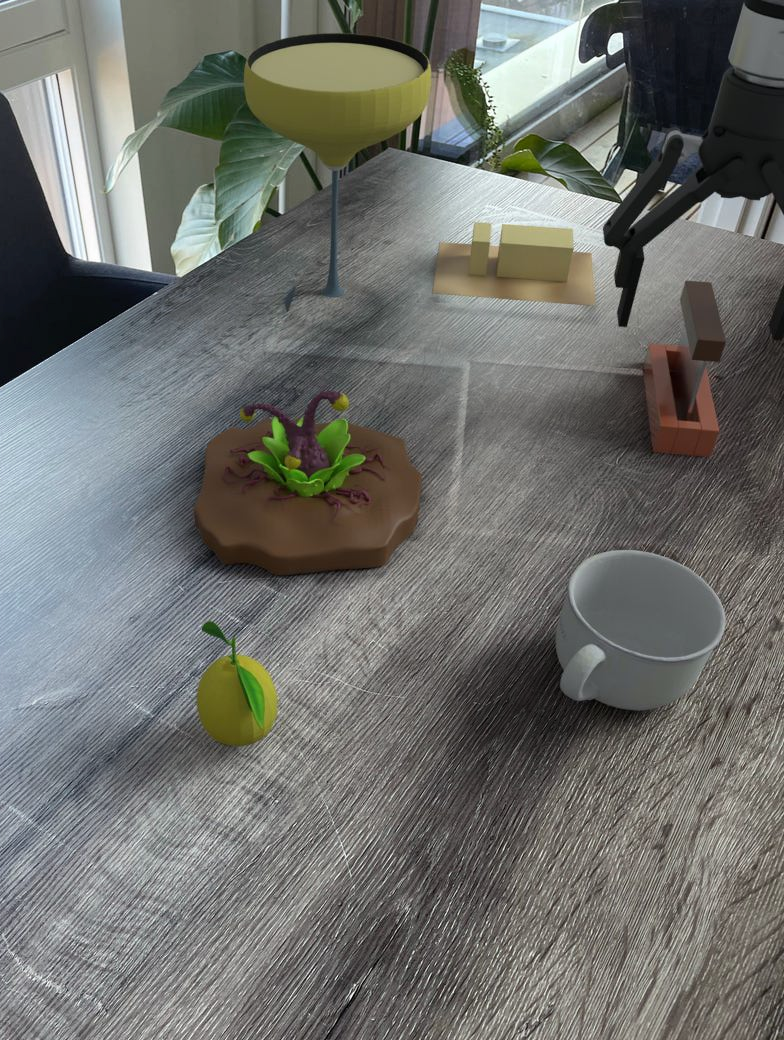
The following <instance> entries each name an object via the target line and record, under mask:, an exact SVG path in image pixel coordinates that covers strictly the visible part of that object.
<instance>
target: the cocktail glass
mask: <svg viewBox="0 0 784 1040" xmlns="http://www.w3.org/2000/svg"><path fill="white" fill-rule="evenodd" d="M431 67H432V66H431V63H430V60H429V58H428V56H426V54H425V53H424V52H422V51H421V50H420V49H418V48H416V47H415V46H412V45H410V44H409V43H405V42H403V41H401V40H400V41H399V40H395V39H392V38H388V37H382V36H378V35H370V34H362V33H361V34H360V33H347V32H324V33H309V34H301V35H294V36H289V37H284V38H281V39H276V40H273V41H270V42H267V43H265V44H263V45H261V46H259V47H256V49H254V50H252V51H251V52H250V53H249V55H248V56H247V58H246V61H245V64H244V68H243V69H244V70H243V88H244V95H245V99H246V103H247V106H248V108H249V109H250V111H251V113H252V114H253V115H254V116H255V118H256V119H257V120H258V121H259V122H261V123H262V124H263V125H264V126H265V127H267V129H269V130H271V131H272V132H274V133H275V134H277V135H279V136H281V137H283V138H284V139H286V140H289V141H291V142H293V143H296V144H298V145H301V146H303V147H305V148H308V149H310V150H311V151H313V152H314V153H315V154H316V155H317V157H318V158H319V160H320V162H321V163H322V164H323V166H324V167H325V168H326V169H327V170H330V171H331V217H330V218H331V221H330V246H329V247H330V249H329V267H328V275H327V281H326V285H325V287H324V288H323V289H321V294H322V296H323V297H326V298H331V299H332V298H334V299H335V298H340V297H342V296H343V295H344V294H345V291H344V289H342V288H341V287H340V281H339V275H338V201H339V200H338V199H339V195H338V194H339V171H341V170H343V169H345V167H347V165H348V164H350V162H351V160H352V159H353V157H355V155H356V154H357V153H358V152H360V151H362V150H363V149H366V148H368V147H370V146H374V145H376V144H378V143H381V142H384V141H387V140H388V139H390V138H392V137H395V136H396V135H398V134H399V133H401V132H404V130H406V129H407V128H408V127H410V126H411V125H412V124H413V123H414V122H416V120H417V119H419V117H420V116H421V115H422V114H423V112H424V111H425V109H426V107H427V105H428V102H429V98H430V92H431V88H432V87H431V85H432V68H431ZM296 290H297V286H296V287H294V288H292V289H291V290H290V291H289V292H288V293H287V294H286V296H285V298H284V307H285V309H286V312H289V311H290V307H291V304H292V302H293V299H294V295H295V293H296Z"/></svg>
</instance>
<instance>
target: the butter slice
mask: <svg viewBox="0 0 784 1040" xmlns="http://www.w3.org/2000/svg"><path fill="white" fill-rule="evenodd" d="M492 226H493V225H492V223H491V222H478V221H474V222H473V229H472V236H471V237H472V238H471V244H472V245H471V253H470V263H469V273H468V274H469V275H481V276H486V271H487V263H488V256H489V248H490V246H491V240H492V239H491V238H492Z"/></svg>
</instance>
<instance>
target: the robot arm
mask: <svg viewBox="0 0 784 1040" xmlns="http://www.w3.org/2000/svg"><path fill="white" fill-rule="evenodd" d="M727 58H728V61H729V63H730V64H731V66H729V68H728V69H726V70H725V71H724V73H723V75H722V79H721V82H720V86H719V89H718V94H717V96H716V100H715V104H714V108H713V110H712V115H711V119H710V122H709V125H708V127H707V129H706V131H705V132H704V133H703V134H702V135H701V136H698V135H693V134H688V133H682V131H681V129H680V128H679V127H677V126H672V127H670V128H669V129H667V131H666V132H665V135H664V138H663V140H662V143H661V146H660V149H659V151H658V154H657V155H656V156H655V157H654V159H653V160H652V162H651V163H650V164H649V165H648V167H647V168H646V169H645V171H644V172H643V173H642V175H641V176H640V178H639V179H638V180H637V181H636V183H634V185H633V186H632V187H631V189H630V190H629V192H628V193H627V194H626V195H625V196H624V199H623V200H622V201H621V202H620V204H619V205H618V206H617V207H616V209H615V210H614V212H613V213H612V214H611V215H610V217H608V219H607V220H606V221H605V223H604V225H603V227H602V232H603V233H602V234H603V242H604V244H605V246H607V247H611V248H612V247H613V248H616V249H618V251H619V252H618V255H617V261H616V265H615V269H614V273H613V279H614V285H615V288H618V289H621V294H620V298H619V301H618V306H617V310H616V315H617V316H616V317H617V326H618V327H619V328H628V324H629V321H630V317H631V313H632V309H633V306H634V301H635V297H636V293H637V290H638V286H639V282H640V279H641V275H642V271H643V267H644V266H643V265H644V262H645V252H644V247H646V246H647V245H648V244H649V243H650V242H651V241H653V240H654V239H655V238H657V237H658V236H659V235H660V234H662V232H664V231H665V230H666V229H667V228H669V227H670V226H671V225H672V224H674V223H675V222H676V221H678V220H679V219H680V218H681V217H682V216H684V215H685V214H686V213H687V212H689V211H690V210H691V209H692V208H693V207H695V206H696V205H697V204H699V203H704V202H705V201H706V200H707V199H708V198H710V197H711V196H712V195H713V194H714V193H715V194H717V195H719V196H720V198H722V199H734V198H744V199H746V200H749V201H759V202H760V201H761V199H762V198H765V197H767V196H769V195H771V194H772V195H773V197H774V200H775V201H776V204H777V206H778V208H779V209H780V211H781V213H782V215H783V216H784V0H744V1H743V3H742V7H741V12H740V15H739V19H738V22H737V25H736V29H735V32H734V35H733V40H732V44H731V46H730V50H729V54H728V57H727ZM695 154H697V156H698V158H699V161H700V164H701V165H700V166H699V167H698V168H696V169H695V170H694V171H693V172H691V174H689V175H688V177H687V179H686V180H685V181H684V182H683V183H682V184H680V185H679V186H678V187H677V188H676V189H675V190H673V191H672V192H671V193H670V194H669V195H668V196H666V197H665V198H664V199H663V200H661V201H660V202H658V204H656V205H655V206H654V207H653V208H652V209H650V210H649V211H648V212H647V213H646V214H645V215H643V216H642V217H641V218H640V219H638V218H639V216H640V215H641V214H642V213H643V211H644V210H645V209H646V208H647V206H648V205H649V204H650V202H652V200H653V199H654V198H655V196H656V195H657V194H658V192H659V191H660V190H661V189H662V187H663V186H664V185H665V184H666V182H667V181H668V180H669V179H670V177H671V175H672V174H673V173H674V171H675V169H676V167H677V165H683V164H684V163H685V162H686V161H687V160H688V158H689V157H690V156H692V155H695ZM637 219H638V220H637ZM636 220H637V221H636ZM635 221H636V222H635ZM768 328H769V331H770V336H771V338H772V340H773V341H777V342H779V341H780V342H782V341H783V340H784V283H783V284H782V287H781V289H780V293H779V295H778V298H777V301H776V303H775V306H774V309H773V311H772V315H771V317H770V320H769V323H768Z"/></svg>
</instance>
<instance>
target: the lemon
mask: <svg viewBox="0 0 784 1040" xmlns="http://www.w3.org/2000/svg"><path fill="white" fill-rule="evenodd" d="M201 631H202V632H203V633H206V634H207V635H210V636H212V637H215V638H217V639H221V640H222V641H223V642H224V643H226V644H227V645H228V646H231V654H229V655H224V656H222V657H220V658H218V659H216V660H215V661H213V662H212V663H211V664H210V665H209V666H208V667H207V668H206V669H205V671H204V672H203V674H202V676H201V678H200V679H199V682H198V686H197V692H196V693H197V695H196V710H197V714H198V718H199V722H200V725H201V726H202V727H203V729H204V730H205V732H206V733H207V734H208V736H209V737H210V738H212V740H215V741H216V742H218V743H219V744H222V745H227V746H231V747H245V746H249V745H253V744H255V743H257V742H259V741H262V740H263V739H264V737H266V735H268V733H269V732H270V731H271V730H272V727H273V726H274V723H275V721H276V718H277V716H278V693H277V689H276V686H275V683H274V682H273V681H274V680H273V679H272V676H271V674H270V672H268V671H267V669H266V668H265V667H264V666H263V665H262V664H261V663H260V662H259V661H258V660H256V659H254V658H252V657H250V656H248V655H243V654H239V653H238V654H237V652H236V651H237V650H236V649H237V648H236V637H235V636H234V637H232V638H231V640H228V639H227V638H226V636H225V634H224V632H223V631H222V629H221V628H220V626H219V625H218V624H217V623H215V622H214V621H213V620H209V621H205V623H203V624H202V626H201Z"/></svg>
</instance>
